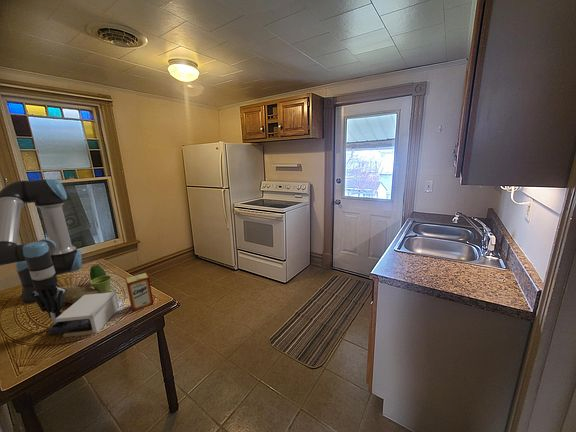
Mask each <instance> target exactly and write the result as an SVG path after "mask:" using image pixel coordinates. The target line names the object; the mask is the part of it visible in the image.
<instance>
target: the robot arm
mask: <svg viewBox="0 0 576 432" xmlns="http://www.w3.org/2000/svg"><path fill="white" fill-rule="evenodd" d="M67 199H68V196H67V192H66V190H65V188H64V185H63V183H62V182H61V181H60V180H58V179H56V178H55V179H51V178H49V179H48V178H47V179H32V180H18V181H17V180H16V181H13V182H11V183H8V184H7V185H5V186H4V187H3V188H2V189H0V267H1V266H4V265H10V264H15V263H16V264H15V268H16V272H17V275H18V278H19V280H20V283H21V286H22V288H21V289H22V290H21V296H20V298H21V299H20V300H21V302H22V303H25V304H32V303H36V304H37V305H38V307H39V309H40V310H41V312H43V313H44V312H47V313H48V316H49V319H51V322H52V326H53V325H54V324H55V323H56V318H57V317H58V316H60V315H61V314H62V312H61V310H62V309H64V307H65V301H64V300H65V291H66V288H65V287H63V288H61V287H60V286H59V284H58V277H57V275H61V274H62V275H63V274H67V273H72V272H76V271H79V270H80V269H82V261H83V259H82V258H83V257H82V251H81V250H79V249H77V247H76V246H74V245H73V244H72V241H71V237H70V232H69V229H68V225H67V221H66V218H65V217H66V216H65V214H64V209H63V205H64V204H65V200H67ZM31 203H34V206H35V207H36V208H39V209H40V212H41V216H42V219H43V224H44V226H45V230H46V234H47V237H48V238H42V239H40V240H37V241H33V242H30V243H28V242H27V243H22V244H18V238H19V231H20V230H19V229H20V221H21V212H22V209H23V208H24V207H25V204H31Z"/></svg>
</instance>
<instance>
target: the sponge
mask: <svg viewBox="0 0 576 432" xmlns="http://www.w3.org/2000/svg"><path fill="white" fill-rule="evenodd" d="M65 289H66V291H65V300H64V303H65V302H66V303H69V304H74V303H75V302H76V301H78V300H79V299H80V298H81V297H82V296H84V295H89V294H98V293H99V292H98V291H97V290H96V289H95V288H94V287H93V288H92V287H85V286H83V287H81V286H71V287H66V288H65Z"/></svg>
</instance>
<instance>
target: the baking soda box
mask: <svg viewBox="0 0 576 432" xmlns="http://www.w3.org/2000/svg"><path fill="white" fill-rule="evenodd" d="M125 284H126V288H127V293H128V297H129V298H128V299H129V303H130V306H131V309H132V312H135V311H138V310H140V309H143V308H144V309H145V307H146V306H147V307H149V306H152V305H154V304H155V303H154V298H153V293H152V292H153V291H152V287H151V282H150V277H149V275H148V273H147V272H144V273H140V274H136V275H133V276H130V277H126V278H125ZM153 303H154V304H153ZM151 304H152V305H151ZM148 305H149V306H148Z"/></svg>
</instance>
